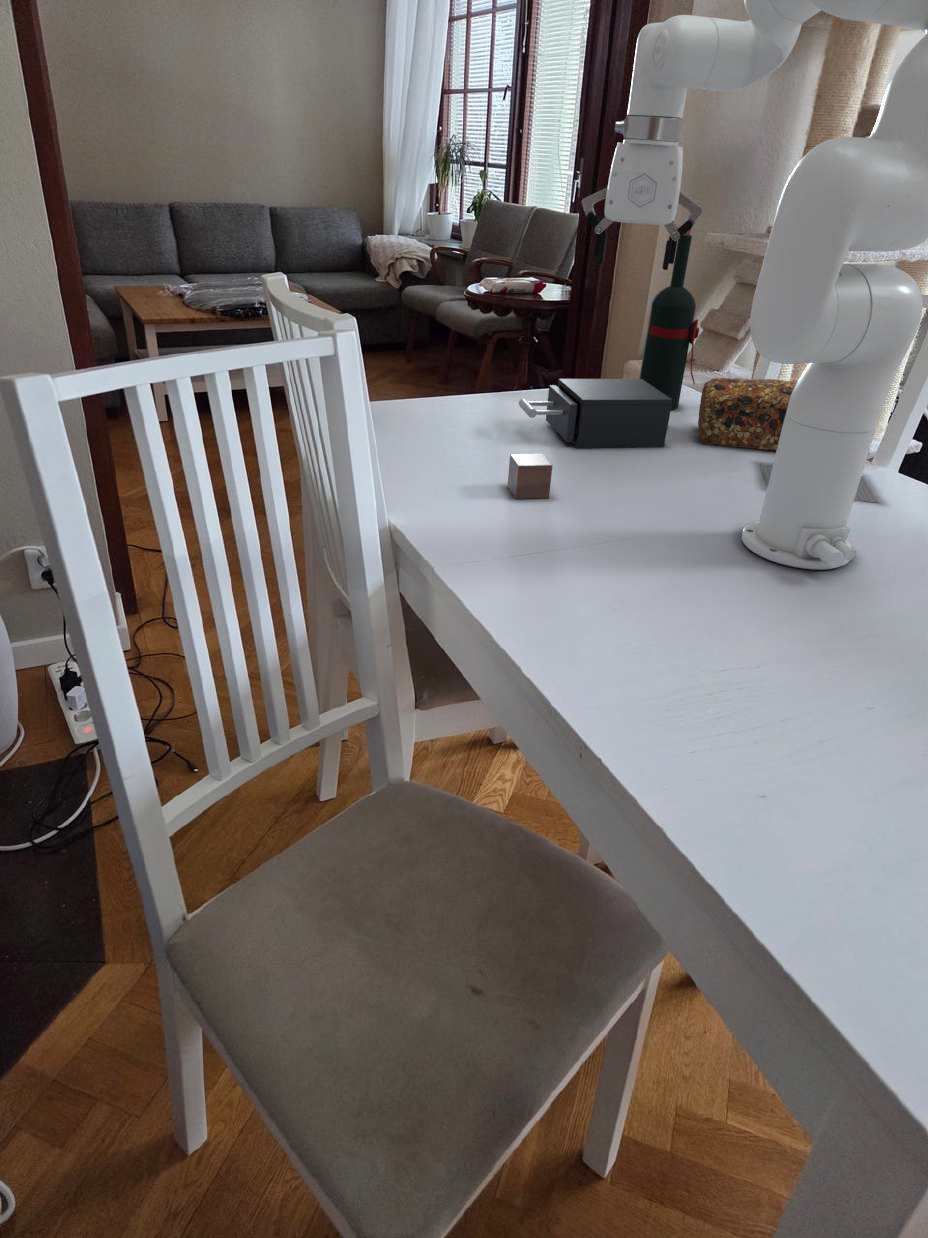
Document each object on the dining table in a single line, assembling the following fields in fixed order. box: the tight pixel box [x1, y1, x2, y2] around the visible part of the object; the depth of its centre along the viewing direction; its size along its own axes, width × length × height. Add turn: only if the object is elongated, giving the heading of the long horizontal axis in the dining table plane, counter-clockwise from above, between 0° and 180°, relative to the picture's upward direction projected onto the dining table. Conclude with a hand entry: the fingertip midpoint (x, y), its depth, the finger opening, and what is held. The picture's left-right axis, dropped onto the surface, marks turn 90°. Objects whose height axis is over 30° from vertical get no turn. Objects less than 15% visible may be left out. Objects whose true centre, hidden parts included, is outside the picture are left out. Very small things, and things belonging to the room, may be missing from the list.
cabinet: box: [557, 378, 672, 449], centre depth 133 cm, size 15×13×8 cm
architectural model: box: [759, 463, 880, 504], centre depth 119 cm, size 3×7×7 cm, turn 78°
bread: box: [697, 377, 798, 451], centre depth 134 cm, size 19×11×10 cm, turn 77°
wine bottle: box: [638, 227, 700, 411], centre depth 145 cm, size 8×10×30 cm
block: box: [507, 453, 553, 500], centre depth 110 cm, size 5×5×5 cm
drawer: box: [518, 384, 581, 443], centre depth 132 cm, size 19×11×6 cm, turn 101°
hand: (632, 265), depth 123 cm, fingers open, 9 cm apart
